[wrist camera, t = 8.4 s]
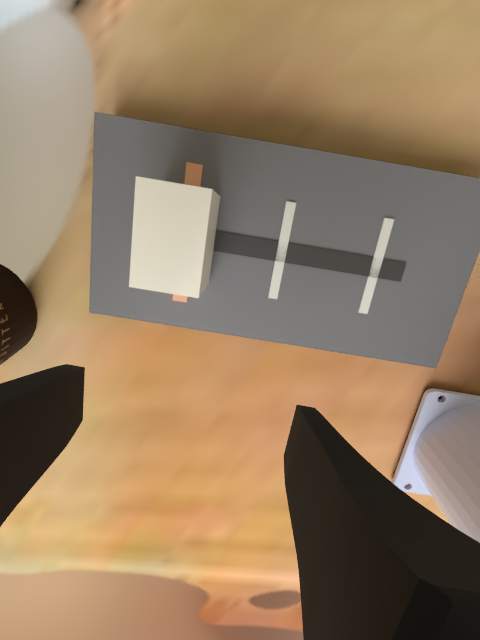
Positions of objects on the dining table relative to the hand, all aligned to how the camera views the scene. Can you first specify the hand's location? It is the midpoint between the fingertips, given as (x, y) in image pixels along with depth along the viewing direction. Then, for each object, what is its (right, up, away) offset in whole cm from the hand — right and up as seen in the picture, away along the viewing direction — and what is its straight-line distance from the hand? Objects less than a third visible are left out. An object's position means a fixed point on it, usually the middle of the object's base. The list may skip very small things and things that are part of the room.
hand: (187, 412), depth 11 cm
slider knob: (-1, +7, +6) cm, 9 cm away
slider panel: (+4, +7, +8) cm, 12 cm away
